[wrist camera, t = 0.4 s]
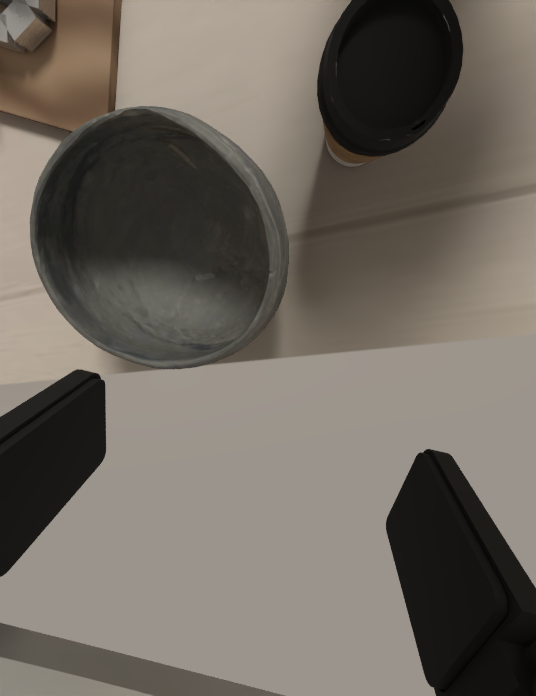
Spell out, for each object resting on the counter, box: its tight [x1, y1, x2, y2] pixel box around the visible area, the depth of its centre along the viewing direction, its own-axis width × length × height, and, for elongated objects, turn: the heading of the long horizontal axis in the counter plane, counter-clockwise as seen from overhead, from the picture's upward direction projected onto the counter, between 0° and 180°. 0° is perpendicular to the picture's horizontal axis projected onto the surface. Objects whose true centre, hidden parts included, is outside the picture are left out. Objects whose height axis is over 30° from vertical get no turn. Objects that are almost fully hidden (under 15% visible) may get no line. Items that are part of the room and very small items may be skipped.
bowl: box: [30, 106, 289, 369], centre depth 30 cm, size 21×21×15 cm
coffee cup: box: [317, 0, 463, 167], centre depth 24 cm, size 8×8×15 cm
